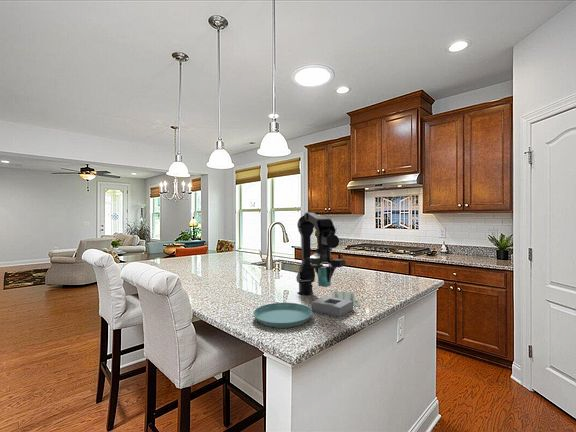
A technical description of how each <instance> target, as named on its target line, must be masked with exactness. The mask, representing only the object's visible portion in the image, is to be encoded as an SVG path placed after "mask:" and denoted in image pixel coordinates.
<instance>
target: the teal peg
mask: <svg viewBox="0 0 576 432" xmlns="http://www.w3.org/2000/svg"><path fill="white" fill-rule="evenodd" d="M326 267H327V266H323V267H320V268H318V275H317V279H318V280H317V286H318V287H324V288H327V287H330V286H331V285H332V283H331V281H332V280H330V282H328V279H327V268H326Z"/></svg>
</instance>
